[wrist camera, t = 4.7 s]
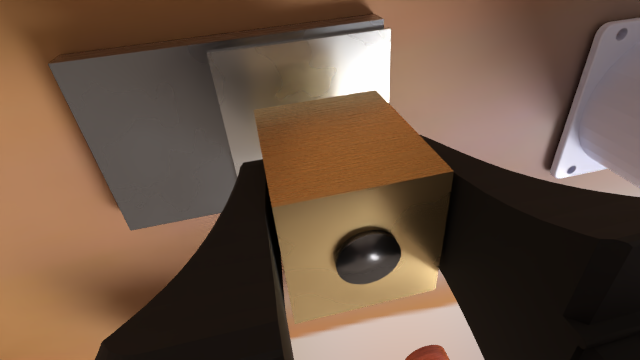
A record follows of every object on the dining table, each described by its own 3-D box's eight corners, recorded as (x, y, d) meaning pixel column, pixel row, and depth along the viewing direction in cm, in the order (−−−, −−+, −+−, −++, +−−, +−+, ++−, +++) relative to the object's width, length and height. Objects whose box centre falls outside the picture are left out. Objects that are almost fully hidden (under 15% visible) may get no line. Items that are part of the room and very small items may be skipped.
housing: (375, 90, 12) (458, 176, 8) (374, 188, 14) (438, 295, 10) (253, 109, 12) (273, 213, 7) (272, 208, 14) (296, 330, 10)
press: (379, 13, 14) (444, 47, 10) (375, 315, 24) (405, 391, 20) (27, 59, 12) (-70, 123, 8) (185, 362, 23) (178, 455, 19)
